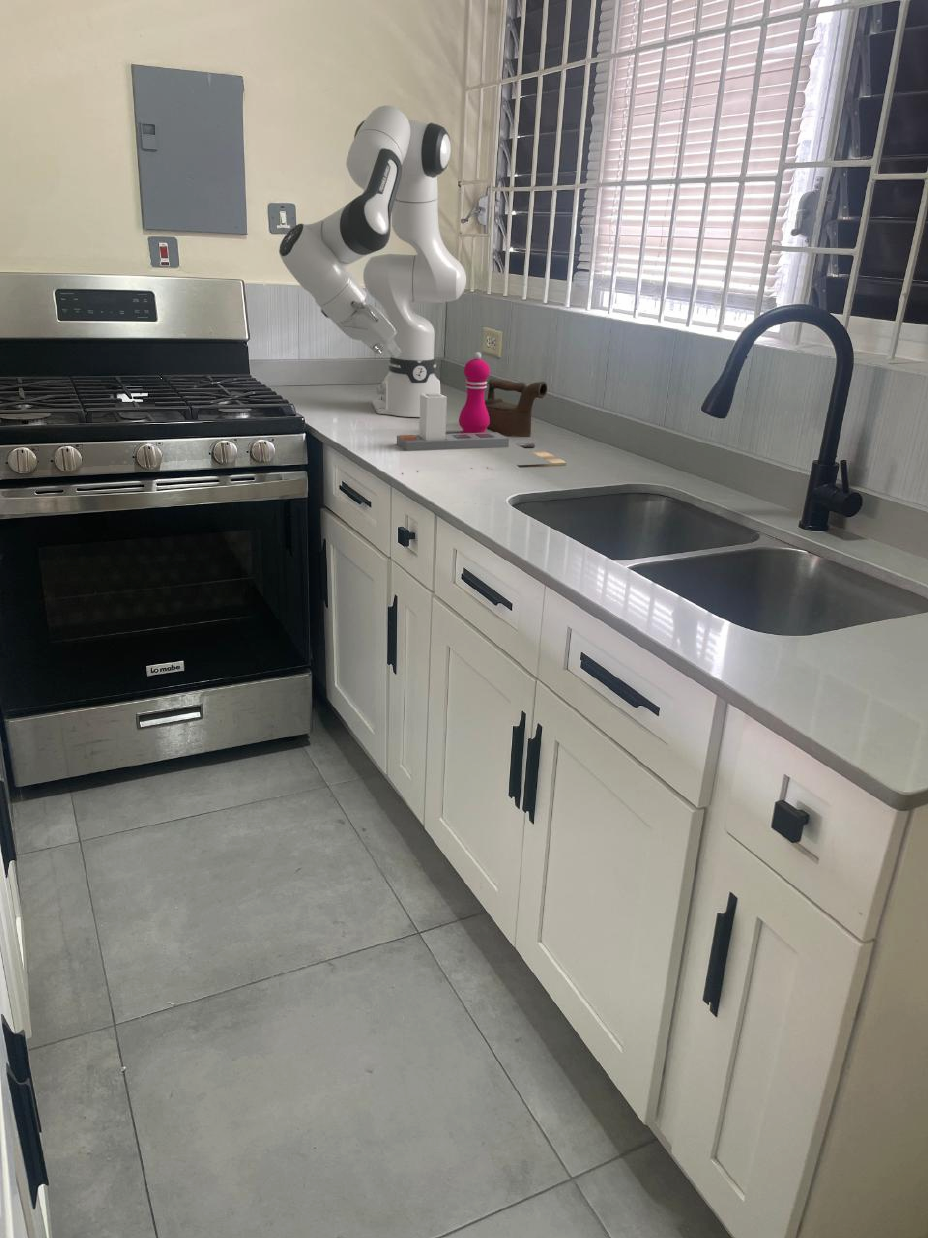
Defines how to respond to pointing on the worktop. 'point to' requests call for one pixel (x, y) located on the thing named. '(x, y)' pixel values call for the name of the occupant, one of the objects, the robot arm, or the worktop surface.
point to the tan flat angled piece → (548, 457)
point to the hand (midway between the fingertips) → (388, 353)
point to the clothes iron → (513, 407)
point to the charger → (432, 417)
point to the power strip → (457, 442)
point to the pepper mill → (475, 397)
